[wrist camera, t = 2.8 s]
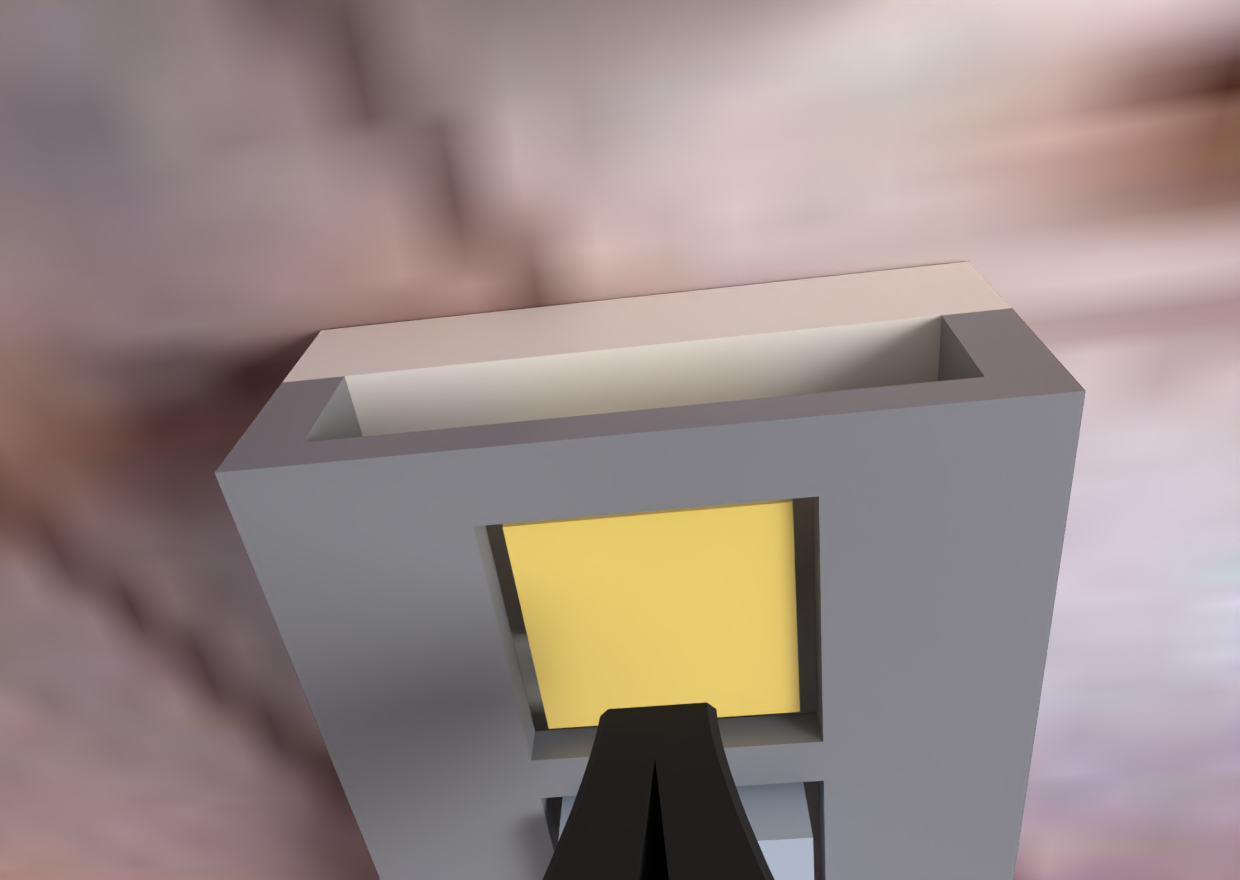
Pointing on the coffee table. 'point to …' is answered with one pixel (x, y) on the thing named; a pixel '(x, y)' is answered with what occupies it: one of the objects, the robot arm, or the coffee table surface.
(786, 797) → the key
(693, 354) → the keypad
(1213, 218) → the coffee table surface
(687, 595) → the key
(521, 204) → the coffee table surface
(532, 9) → the coffee table surface
